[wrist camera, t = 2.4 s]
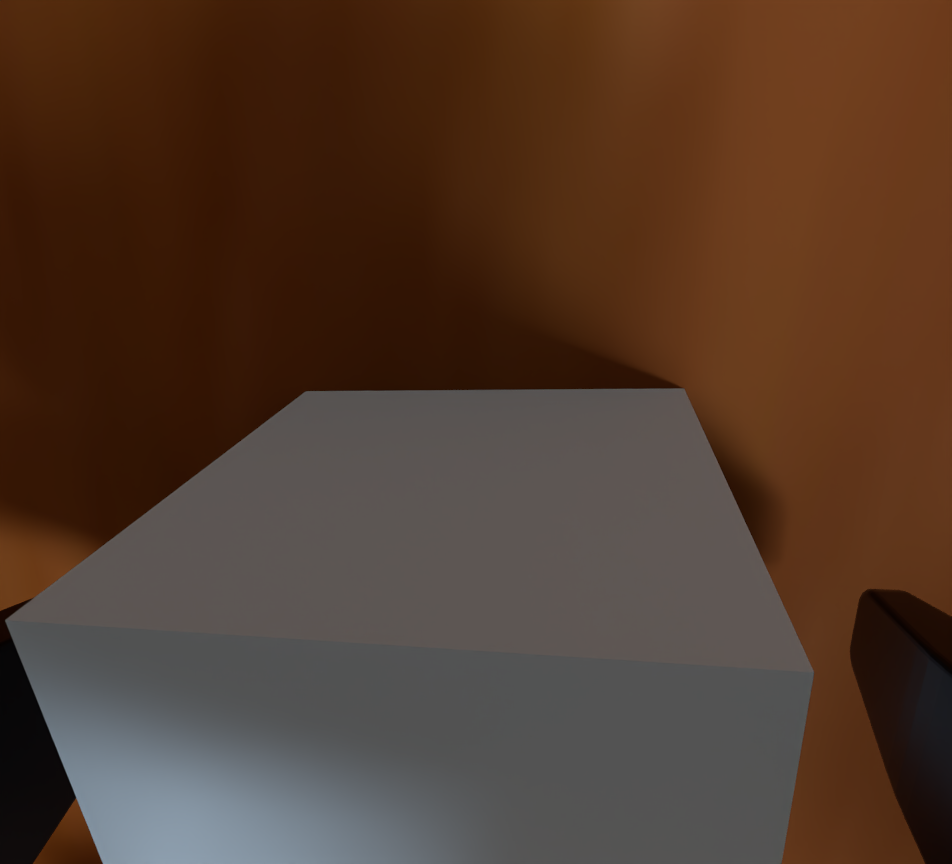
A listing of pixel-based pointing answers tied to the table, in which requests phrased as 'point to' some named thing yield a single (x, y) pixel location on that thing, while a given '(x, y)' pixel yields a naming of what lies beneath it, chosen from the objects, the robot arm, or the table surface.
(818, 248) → the table surface
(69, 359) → the table surface
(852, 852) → the table surface
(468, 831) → the bluish grey cube
